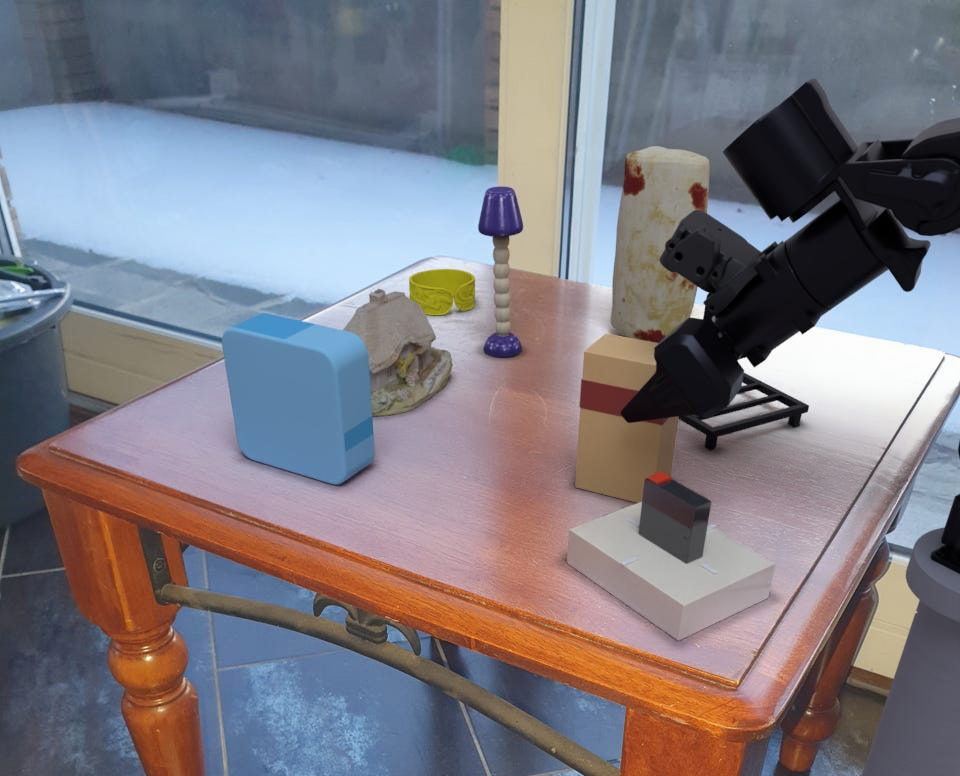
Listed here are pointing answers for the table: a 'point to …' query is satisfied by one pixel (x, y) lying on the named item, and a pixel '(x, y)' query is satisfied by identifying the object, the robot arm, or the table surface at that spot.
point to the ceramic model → (399, 352)
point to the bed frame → (773, 394)
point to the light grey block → (669, 573)
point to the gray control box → (674, 517)
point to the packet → (619, 421)
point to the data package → (300, 396)
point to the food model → (654, 240)
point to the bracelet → (442, 290)
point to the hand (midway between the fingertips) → (644, 395)
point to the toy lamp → (501, 263)
